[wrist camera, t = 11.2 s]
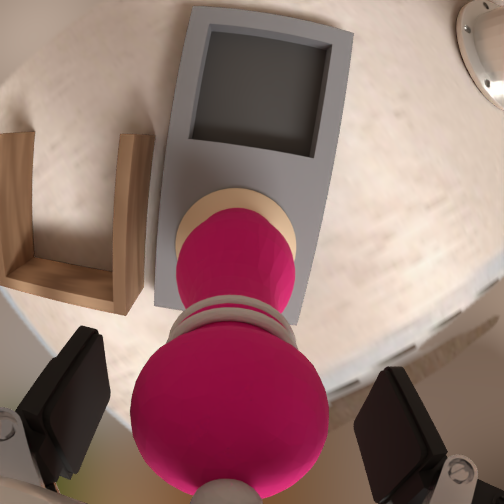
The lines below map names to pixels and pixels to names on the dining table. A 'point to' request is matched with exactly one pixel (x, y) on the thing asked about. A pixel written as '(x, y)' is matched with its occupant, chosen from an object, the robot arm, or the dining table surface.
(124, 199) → the wooden u-shaped frame
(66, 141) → the dining table surface
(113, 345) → the dining table surface
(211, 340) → the pepper mill
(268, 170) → the gray portable music player
